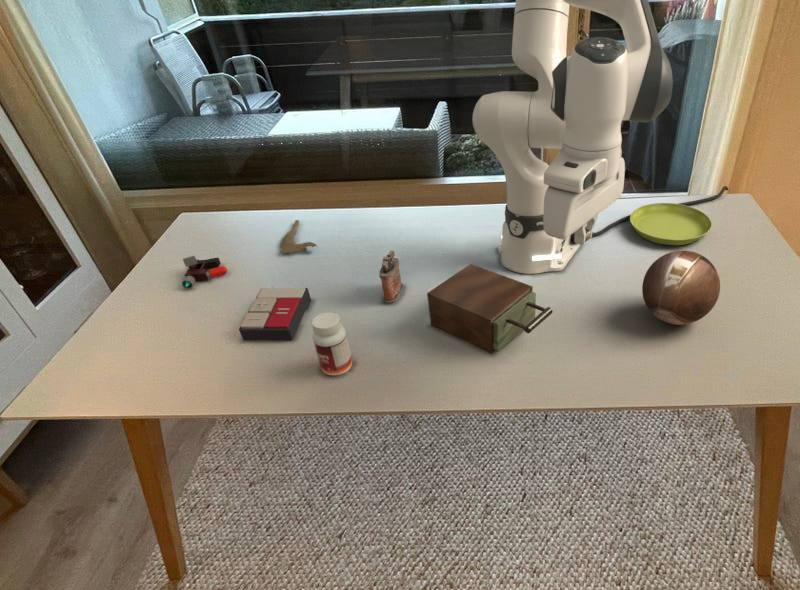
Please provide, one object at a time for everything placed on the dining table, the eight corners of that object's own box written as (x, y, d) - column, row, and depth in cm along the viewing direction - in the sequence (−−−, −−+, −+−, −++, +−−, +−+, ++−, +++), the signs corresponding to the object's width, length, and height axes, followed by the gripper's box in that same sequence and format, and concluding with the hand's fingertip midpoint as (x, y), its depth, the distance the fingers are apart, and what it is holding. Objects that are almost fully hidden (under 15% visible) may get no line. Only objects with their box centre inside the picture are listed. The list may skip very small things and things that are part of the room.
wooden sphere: (631, 330, 118) (642, 268, 108) (643, 293, 128) (654, 232, 119) (707, 345, 113) (725, 281, 104) (713, 304, 124) (730, 243, 114)
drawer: (558, 328, 118) (559, 302, 114) (522, 362, 110) (522, 334, 106) (478, 296, 128) (476, 270, 124) (439, 325, 121) (437, 298, 116)
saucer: (618, 217, 158) (620, 206, 156) (690, 210, 159) (693, 200, 157) (643, 253, 142) (645, 242, 140) (723, 246, 143) (726, 235, 141)
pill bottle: (315, 368, 112) (301, 321, 105) (339, 352, 116) (328, 306, 109) (334, 381, 109) (322, 334, 102) (359, 364, 113) (348, 318, 106)
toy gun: (180, 292, 136) (172, 274, 133) (195, 266, 145) (188, 249, 142) (221, 288, 137) (214, 271, 133) (233, 263, 146) (227, 246, 143)
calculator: (236, 327, 118) (260, 285, 129) (243, 342, 121) (265, 300, 132) (288, 327, 117) (307, 284, 128) (293, 342, 120) (312, 300, 131)
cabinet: (531, 319, 122) (532, 286, 117) (491, 354, 114) (490, 320, 108) (472, 295, 130) (470, 263, 125) (430, 326, 122) (426, 293, 116)
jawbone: (285, 263, 146) (283, 256, 144) (268, 232, 160) (265, 226, 159) (319, 251, 148) (316, 244, 147) (299, 222, 163) (296, 215, 161)
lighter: (395, 305, 128) (389, 266, 122) (380, 303, 129) (374, 265, 123) (405, 286, 134) (400, 248, 128) (392, 284, 135) (386, 247, 129)
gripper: (604, 136, 95) (596, 213, 104) (537, 177, 83) (534, 260, 92) (639, 143, 92) (627, 222, 101) (574, 186, 80) (568, 271, 89)
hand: (582, 240), depth 97 cm, fingers closed
